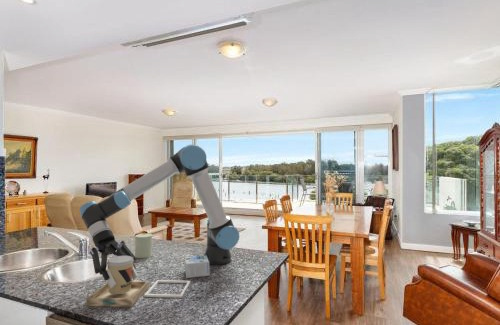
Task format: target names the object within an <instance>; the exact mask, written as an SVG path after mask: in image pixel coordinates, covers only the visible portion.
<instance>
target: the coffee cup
mask: <svg viewBox="0 0 500 325" xmlns="http://www.w3.org/2000/svg"><path fill="white" fill-rule="evenodd" d="M133 261H135V260H134V259H133V257H131V256H116V255H115V256H113V257H110V258H109V259H107V269H109V270H110V272H111V274H112V276H113V278H114V281H115V283H116V285H115V286H114V287H113V288H110V286H109V283H108V287H109V293H110V294H122V293H126V292H128V291H129V290H130V288H131V281H132V280H133V278H132V269H133V263H134V262H133Z"/></svg>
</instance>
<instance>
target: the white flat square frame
mask: <svg viewBox="0 0 500 325" xmlns="http://www.w3.org/2000/svg"><path fill="white" fill-rule="evenodd" d="M161 283H162V284H186V285H185V286H184V288H183V289H182V291H181V293H180V294H169V293H168V294H166V293H165V294H164V293H163V294H162V293H161V294H160V293H151V292H152V291H153V290H154V289H155V287H156V286H157V285H158V284H161ZM190 284H191V280H180V279H179V280H171V279H170V280H169V279H168V280H167V279H157V280H156V281H155V282H154V283H153V284H152V286H151V287H150V288H148V289H147V290H146V291H145V292H144V294H143V296H144V298H176V299H178V298H179V299H180V298H183V297H184V295H185V293H186V292H187V289H188V288H189V286H190Z"/></svg>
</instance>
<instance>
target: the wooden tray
mask: <svg viewBox="0 0 500 325" xmlns="http://www.w3.org/2000/svg"><path fill="white" fill-rule="evenodd" d="M149 285H150V281H147V280H145V281H144V280H143V281H142V280H131V288H130V290H129V291H128V292H126V293H122V294H110V293H109V287H108V281H106V283H105V284H103V285H102V286H101V287H99V288H98V289H97V290H96V291H94V292H93V293H91V294H90V295H89V296H88V297H87V298H86V299H85V300H86V307H124V308H125V307H126V308H127V307H131V308H132V307H133V306H134V305H135V303H136V302H137V301H138V300H139V299H140V298H141V297H142V296H144V294H145V293H146V292H147V291H148V290H149V289H150V288H149V287H150V286H149Z"/></svg>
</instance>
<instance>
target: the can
mask: <svg viewBox="0 0 500 325" xmlns="http://www.w3.org/2000/svg"><path fill="white" fill-rule="evenodd" d="M134 239H135V245H134V246H135V247H134V256H135V257H136V259H146V258H150V257H152V255H153V252H152V251H153V250H152V249H153V234H152V233H138V234H135V236H134Z"/></svg>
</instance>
